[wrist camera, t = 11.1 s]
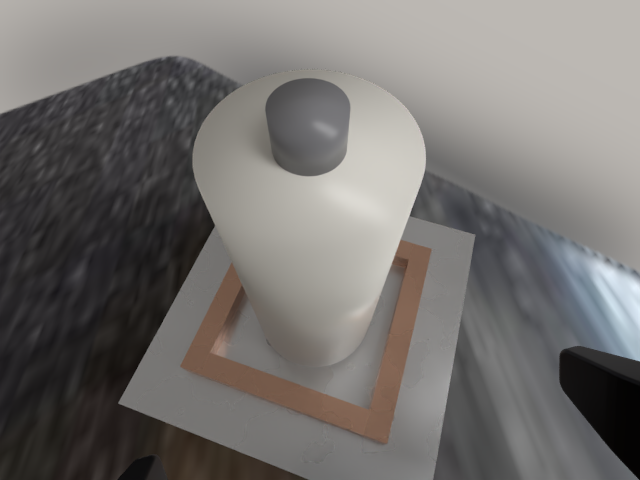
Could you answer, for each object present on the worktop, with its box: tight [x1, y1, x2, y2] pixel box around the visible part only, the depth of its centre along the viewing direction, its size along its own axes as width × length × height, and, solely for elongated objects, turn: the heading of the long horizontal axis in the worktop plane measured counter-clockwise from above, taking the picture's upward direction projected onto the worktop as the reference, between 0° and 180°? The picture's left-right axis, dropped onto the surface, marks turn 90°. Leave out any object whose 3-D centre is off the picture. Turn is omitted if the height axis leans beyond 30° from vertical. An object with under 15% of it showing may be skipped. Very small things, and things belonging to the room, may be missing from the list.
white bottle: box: [193, 69, 426, 367], centre depth 14 cm, size 6×6×13 cm
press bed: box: [119, 216, 475, 480], centre depth 21 cm, size 14×14×4 cm
